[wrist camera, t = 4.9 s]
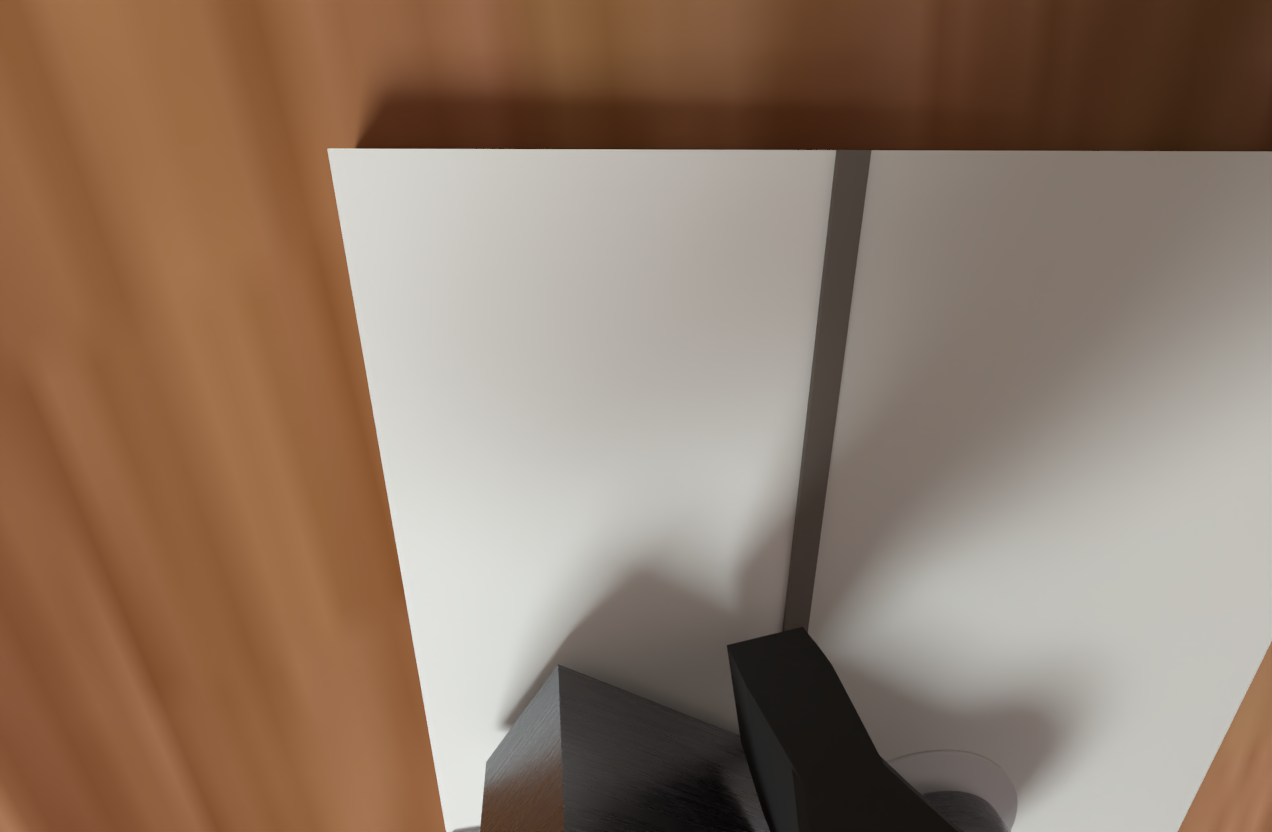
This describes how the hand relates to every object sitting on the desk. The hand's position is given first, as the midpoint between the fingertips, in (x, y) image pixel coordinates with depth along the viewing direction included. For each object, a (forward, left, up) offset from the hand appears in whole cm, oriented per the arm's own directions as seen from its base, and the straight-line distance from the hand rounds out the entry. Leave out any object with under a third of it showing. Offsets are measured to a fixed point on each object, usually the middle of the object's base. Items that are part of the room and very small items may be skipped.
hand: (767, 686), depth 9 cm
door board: (-3, +4, -2) cm, 6 cm away
